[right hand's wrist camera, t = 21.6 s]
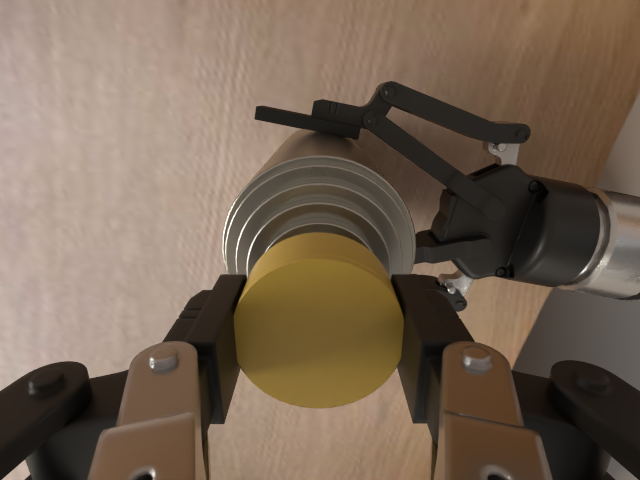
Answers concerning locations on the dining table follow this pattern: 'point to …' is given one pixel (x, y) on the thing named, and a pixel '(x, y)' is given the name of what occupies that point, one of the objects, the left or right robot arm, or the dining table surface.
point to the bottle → (319, 204)
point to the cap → (318, 322)
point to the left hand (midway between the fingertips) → (250, 177)
